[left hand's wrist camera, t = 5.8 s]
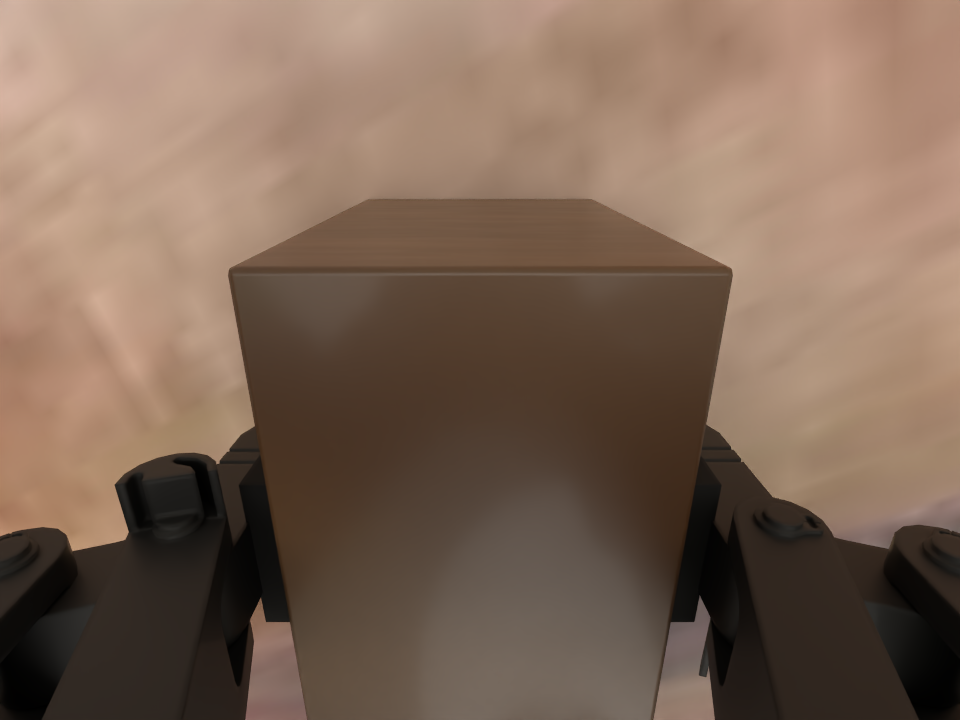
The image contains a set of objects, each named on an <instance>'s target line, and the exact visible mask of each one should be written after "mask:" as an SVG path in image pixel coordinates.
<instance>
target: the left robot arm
mask: <svg viewBox="0 0 960 720" xmlns="http://www.w3.org/2000/svg"><path fill="white" fill-rule="evenodd" d="M115 488H116V491H117V494H118V498H119V501H120V504H121V507H122V511H123V514H124V517H125V521H126V524H127V527H128V530H129V533H128V535H127V538H126V540H124V541H120V542H116V543H111V544H106V545H101V546H96V547H92V548H87V549H82V550H77V551H72V549H71V546H70V544H69V541H68V538H67V535H66V534H64V533H63V532H62V531H60V530H59V529H54V528H45V527H41V528H34V529H26V530H20V531H16V532H12V533H11V534H6V535H3V536H0V720H245V717H246V708H247V699H248V690H249V681H250V672H251V663H252V654H253V645H254V639H253V633H252V627H251V623H250V618H251V616H252V614H253V612H254V610H255V608H256V606H257V604H258V602H259V600H260V598H261V599H262V604H263V609H264V614H265V619H266V622H290V619H289V613H288V608H287V602H286V596H285V591H284V585H283V579H282V574H281V568H280V563H279V557H278V551H277V546H276V540H275V535H274V529H273V523H272V518H271V512H270V507H269V501H268V495H267V490H266V484H265V479H264V473H263V467H262V462H261V456H260V451H259V445H258V439H257V434H256V428H255V427H253V428H251V429H250V430H248V431H246V432H245V433H243V434H242V435H241V436H240V437H239V438H238V439H237V441H236V442H235V443H234V444H233V445H232V447H231V448H230V451H229V452H227V453H226V454H225V455H224V456H223V458H222V459H221V460H220V464H217V465H216V461H215V460H213V459H212V458H210V457H209V456H208V455H203V454H198V453H179V454H173V455H168V456H164V457H159V458H156V459H154V460H151V461H148V462H146V463H143V464H141V465H139V466H137V467H135V468H134V469H132V470H131V471H129V472H127V473H126V474H124V475H123V476H122V477H121V478H120V480H119V481H118V482H117V483H116V484H115ZM699 596H700V597H701V599H702V601H703V603H704V605H705V607H706V609H707V611H708V613H709V615H710V617H711V618H710V623H709V627H708V632H707V637H706V641H705V646H704V651H703V655H702V660H701V665H700V671H699V676H703V677H706V676H707V671H708V667H709V671H710V680H711V689H712V697H713V706H714V715H715V720H960V533H957V532H954V531H952V532H951V531H949V530H947V529H943V528H938V527H930V526H923V525H913V526H904V527H902V528H901V529H899V530H898V531H897V532H895V534H894V537H893V539H892V542H891V545H890V548H889V549H885V548H880V547H875V546H870V545H866V544H861V543H856V542H851V541H846V540H842V539H838V538H834V537H833V534H832V532H831V531H830V529H829V528H828V527H827V526H826V524H825V523H824V522H823V520H821V519H820V518H819V517H817V516H816V515H815V514H813V513H812V512H810V511H809V510H807V509H805V508H803V507H801V506H798V505H796V504H794V503H792V502H789V501H785V500H781V499H777V498H773V497H772V496H771V495H770V494H769V492H768V491H767V490H766V489H765V488H764V486H763V485H762V484H761V483H760V482H759V480H758V479H757V478H756V477H755V475H754V474H753V473H752V472H751V471H750V469H749V468H748V467H747V466H746V465H745V463H744V462H741V459H740V457H739V456H738V455H737V454H736V452H735V451H734V450H731V446H730V445H729V444H728V443H727V442H726V440H725V439H724V438H723V437H722V436H721V434H720V433H719V432H717V431H715V430H714V429H712V428H710V427H709V426H707V425H706V427H705V433H704V438H703V444H702V450H701V455H700V461H699V466H698V472H697V478H696V483H695V489H694V494H693V500H692V505H691V511H690V517H689V522H688V528H687V533H686V539H685V545H684V550H683V556H682V561H681V567H680V573H679V578H678V584H677V589H676V595H675V601H674V606H673V612H672V617H671V622H694V621H695V616H696V611H697V606H698V601H699Z"/></svg>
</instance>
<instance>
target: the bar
mask: <svg viewBox="0 0 960 720" xmlns="http://www.w3.org/2000/svg"><path fill="white" fill-rule="evenodd" d="M732 276H733V274H732V269H731V268H729V267H727V266H725V265H723V264H721V263H719V262H717V261H715V260H713V259H711V258H709V257H707V256H705V255H703V254H701V253H699V252H697V251H695V250H693V249H691V248H689V247H687V246H685V245H683V244H681V243H679V242H677V241H675V240H673V239H671V238H669V237H667V236H665V235H663V234H661V233H659V232H657V231H655V230H653V229H650V228H648V227H646V226H644V225H642V224H640V223H638V222H636V221H634V220H632V219H630V218H628V217H626V216H624V215H622V214H620V213H618V212H616V211H614V210H612V209H610V208H608V207H606V206H604V205H602V204H600V203H598V202H596V201H594V200H592V199H569V200H366V201H364V202H362V203H360V204H358V205H356V206H354V207H352V208H350V209H348V210H346V211H344V212H342V213H340V214H338V215H336V216H334V217H332V218H330V219H328V220H326V221H324V222H322V223H320V224H318V225H316V226H314V227H312V228H310V229H308V230H306V231H304V232H302V233H300V234H298V235H296V236H294V237H292V238H290V239H288V240H286V241H284V242H282V243H280V244H278V245H276V246H274V247H272V248H270V249H268V250H266V251H264V252H262V253H260V254H258V255H256V256H254V257H252V258H250V259H248V260H246V261H244V262H242V263H240V264H238V265H236V266H234V267H232V268H230V269H229V274H228V277H229V282H230V288H231V294H232V299H233V305H234V310H235V316H236V322H237V327H238V333H239V338H240V344H241V350H242V355H243V361H244V366H245V372H246V378H247V383H248V389H249V394H250V400H251V406H252V411H253V417H254V423H255V428H256V434H257V439H258V445H259V451H260V456H261V462H262V467H263V473H264V479H265V484H266V490H267V495H268V501H269V507H270V512H271V518H272V523H273V529H274V535H275V540H276V546H277V551H278V557H279V563H280V568H281V574H282V579H283V585H284V591H285V596H286V602H287V608H288V613H289V619H290V624H291V630H292V636H293V641H294V647H295V652H296V658H297V664H298V669H299V675H300V680H301V686H302V692H303V697H304V703H305V708H306V714H307V720H653V718H654V712H655V707H656V701H657V696H658V690H659V684H660V679H661V673H662V668H663V662H664V656H665V651H666V645H667V640H668V634H669V629H670V623H671V617H672V612H673V606H674V601H675V595H676V589H677V584H678V578H679V573H680V567H681V561H682V556H683V550H684V545H685V539H686V533H687V528H688V522H689V517H690V511H691V505H692V500H693V494H694V489H695V483H696V478H697V472H698V466H699V461H700V455H701V450H702V444H703V438H704V433H705V427H706V422H707V416H708V410H709V405H710V399H711V394H712V388H713V382H714V377H715V371H716V366H717V360H718V354H719V349H720V343H721V338H722V332H723V327H724V321H725V315H726V310H727V304H728V299H729V293H730V287H731V282H732Z"/></svg>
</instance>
